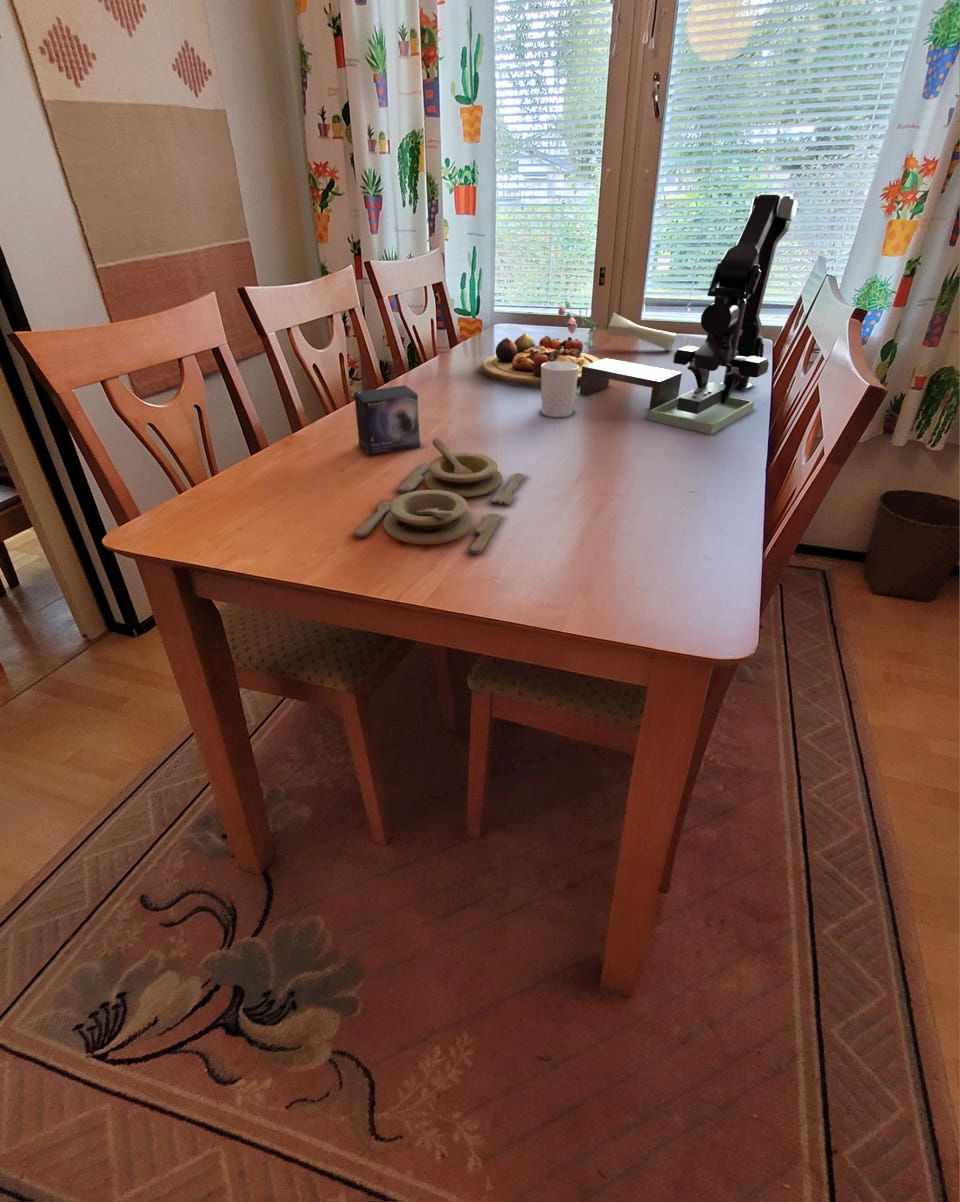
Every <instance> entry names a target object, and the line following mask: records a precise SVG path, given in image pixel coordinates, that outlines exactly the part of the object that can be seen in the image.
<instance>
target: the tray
mask: <svg viewBox="0 0 960 1202" xmlns="http://www.w3.org/2000/svg"><path fill="white" fill-rule="evenodd" d="M693 390H694V389H692V390H689V391H688V392H686V393H683V394H682V395H678V397H677V398H675V399H673V400H671V401H669V402H666V403H664V404H662V405H660V406H658V407H656V408H654V409H652V410H650V411H649V412H648V420H649V421H652V422H657V423H662V424H666V425H670V426H674V427H677V428H678V427H679V428H681V429H682V428H683V429H687V430H690V431H695V432H700V433H703V434H707V435H713V434H715V433H717V432H718V431H720V430H723V428H725V427H727V426H729V425H730V424H732V423H734V422H736V421H737V420H738V419H740V418H742V417H744V416H746V415H747V414H749V413H750V412H752V411H754V410H753V409H754V405H755V401H753V400H749V399H745V398H744V399H743V398H739V397H733V396H729V398H728V399H727V401H726V402H725V404H723V405H722V404H721V402H719V403H717V404H715V405H714V406H712V407H710V408H708V409H706V410H704V411H702V412H700V413H698V414H694V413H689V412H685V411H680V410H677V405H678V399H679V397H681V396H683V395H685V394H687V393H689V392H691V391H693Z"/></svg>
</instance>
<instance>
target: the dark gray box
mask: <svg viewBox="0 0 960 1202" xmlns="http://www.w3.org/2000/svg"><path fill="white" fill-rule="evenodd" d="M724 388H725V385H724V384H720V383H718V382H715V381H714V382H713V381H710V382H708V383H707V384H706V385H704V386H702V387H699V388H698V387H697V388H696V389H692V390H693V391H692V390H690V391H691V392H690V391H688V392H689V393H688V392H686V393H687V394H686V393H684V394H685V395H683V394H682V395H683V396H681V395H680V396H681V397H679V396H678V397H679V399H678V405H677V410H680V411H685V412H689V413H694V414H698V413H700V412H702V411H704V410H706V409H708V408H710V407H712V406H714V405H715V404H717V403H719V402H721V401H722V396H723V392H724Z"/></svg>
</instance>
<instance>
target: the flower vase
mask: <svg viewBox="0 0 960 1202" xmlns="http://www.w3.org/2000/svg"><path fill="white" fill-rule="evenodd" d="M564 305H565V307H563V305H561V306H560V307H559V309H558V310H557V311H558V315H559V317H560V318H561V317H562V316H566V318H567V319H568V318H569V319H568V320H567V322H566V324H567V330H568V332H569V333H571V335H574V334H575V332H576V331H577V327H578V326H591V328H590V330H589V331H588V332H587V335H590V333H592V332H594V333H593V335H592V336H589V337H588V339H587V340H586V344H588V342H590V347H591V348H592V346H593V345H592V344H593V343H592V342H593V339H594V337H595V336H597V335H601V334H602V333H603V332H604V330H606V329H607V332H606V335H607V336H616V337H625V338H633V339H637V340H639V341H643V342H645V343H649V344H652V345H653V346H657V347H659V348H661V349H662V350H663V349H664V350H665V351H668V352H671V351H672V348H673V345H674V343H675V340H676V337H677V333H676V332H669V331H664V330H659V329H654V328H650V327H646V326H642V325H638V324H637V323H634V322H633V321H631V320H629V319H627V318H624V317H623V316H621V315H619V314H617V313H615V312H613V314H612V316H611V319H610V322H609V325H601V324H598V322H597V321H595V319H594V318H592V316H590V320H589V319H588V318H584V317H583V316H582V312H581V310H582V309H581V308H579V315H578V314H575V313H572V312H568V311H566V308H567V309H568V308H569V309H570V310H572V307H571V303H569V302H568V300H567V299H565V302H564ZM588 308H589V307H587V308H586V310H585V315H586V317H588ZM571 315H573V316H575V317H573V316H571ZM576 317H577V318H578V317H579V318H580V319H583V320H585V321H586V323H585V322H584V321H581V322H582V323H577V322H576V320H577V319H576ZM593 321H595V322H593ZM592 326H593V327H592ZM596 327H598V329H600V328H604V329H603V330H601V331H602V332H601V333H596V332H597V330H596ZM595 333H596V334H595Z"/></svg>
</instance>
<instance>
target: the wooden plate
mask: <svg viewBox="0 0 960 1202" xmlns="http://www.w3.org/2000/svg"><path fill="white" fill-rule="evenodd" d="M566 339H567V340H566ZM566 339H564V340H563V341H561V340H560V338H558V337H557V338H553V339H551V337H550V336H549V335H544V337H541V338H540V340H539V344H538V345H536V342H535V340H534V339H533V338H532V337H531V336H529V335H528V334H527V333H523V334H521V335H520V336H519V337H517V338H516V339H515V340H514V341H513V340H512V339H511V338H510V337H508V336H507V337H504V338H503V339H502V340H501V341H499V342H498V344H497V345H496V347H495V354H494V355H491V356H488V357H486V359H484V360H483V362H482V363H481V372H482V373H483V374H484V375H486V376H487V377H488V378H490V379H493V380H495V381H498V382H500V383H505V384H510V385H518V386H526V387H541V365H542V364H543V363H546V362H551V361H566V362H572V363H575V364H577V365H578V366H579V369H578V377H577V385H581V374H582V366H584V365H587V364H590V363H593V362H596V361H599V360H601V359H600V358H598V357H597V356H594V355H591V354H588V353H585V352H583V349H584V343H583V341H582V340H580V339H578V338H576V339H573V337H571V336H568V338H566ZM562 348H563V349H562Z"/></svg>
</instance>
